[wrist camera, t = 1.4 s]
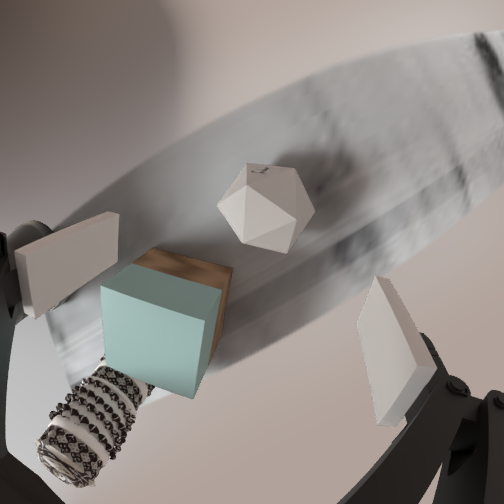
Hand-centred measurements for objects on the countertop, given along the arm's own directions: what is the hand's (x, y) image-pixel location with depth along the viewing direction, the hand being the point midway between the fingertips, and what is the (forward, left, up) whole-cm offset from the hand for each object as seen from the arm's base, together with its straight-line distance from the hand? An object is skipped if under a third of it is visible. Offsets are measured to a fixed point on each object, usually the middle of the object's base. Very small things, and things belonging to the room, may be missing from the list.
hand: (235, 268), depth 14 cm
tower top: (-8, -14, -14) cm, 21 cm away
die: (0, 0, -20) cm, 20 cm away
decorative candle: (-14, -26, -20) cm, 35 cm away
